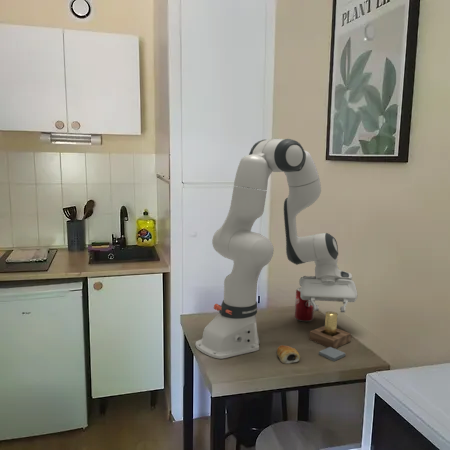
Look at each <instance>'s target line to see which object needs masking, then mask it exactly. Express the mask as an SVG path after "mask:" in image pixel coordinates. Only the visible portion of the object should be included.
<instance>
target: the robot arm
mask: <svg viewBox="0 0 450 450" xmlns="http://www.w3.org/2000/svg"><path fill="white" fill-rule="evenodd" d="M238 164H239V165H238V166H237V169H236V173H235V178H234V183H233V188H232V189H233V190H232V194H231V195H232V196H231V200H230V206H229V210H228V213H227V216H226V218H225V220H224V222H223V224H222V225H221V226H220V228H218V229H217V230H216V231H215V232H214V234H213V236H212V241H211V242H212V243H211V245H212V247H213V249H214V251H215V252H217V253H218V254H219V255H220V256H221V257H223V258H226V259H228V260H231V261H233V266H232V269H231V272H230V273H229V274H228V275H227V276H226V277H224V281H223V300H222V302H221V304H218V303H215V304H214V305H213V309H214V310H216V311H218V314H216V316H214V318H213V319H212V320H211V321H210V322H208V323H207V325H206V326H205V327H204V329H203V332H202V338H201V339H198V340H196V341H195V343H194V344H195V347H196V349H197V350H198V351H200V352H201V353H203V354H205V355H207V356H209V357H211V358H215V359H220V360H222V359H227V358H231V357H235V356H241V355H243V354H248V353H253V352H257V351H259V350H260V345H259V344H260V339H259V334H258V323H257V313H258V302H257V289H258V282H259V281H258V280H259V278H260V277H259V276H260V274H261V272H262V270H263V268H265V266H267V265H268V264H269V263H271V261H272V259H273V257H274V252H275V251H274V246H273V243H272V241H271V240H270V239H269V238H267V237H266V236H264V235H263V234H260V233H258V232H254V231H252V229H253V226H254V224H255V222H256V220H258V219H259V218H260V217H262V215H263V214H264V211H265V205H266V197H267V192H268V183H269V182H268V181H269V178H270V176H271V175H272V173H282V172H283V173H284V174H285V176H286V181H287V185H288V196H287V197H286V198H285V199H284V203H283V221H284V232H285V254H286V257H287V259H288V261H289V262H291V263H293V264H294V265H296V266H298V265H301V264H305V263H310V262H314V265H315V267H314V276H313V275H303V276H302V277H300V278H299V281H298V282H299V283H298V284H299V286H300V287H301V294H300V297H301V299H302V300H310V303H311V304H312V306H313V307H314V312H319V309H320V308H319V304H316V301H318V302H319V301H320V302H338V303H339V302H341V303H342V304H343V305H341V306H340V308H339V310H340V313H344V314H345V313H346V311H347V310H346V307H347V305H348V303H355V302H356V301H357V299H358V291H357V286H356V283H355V281H354V280H353V274H352V273H351V272H347V271H345V270H341V269H339V265H338V260H339V259H338V258H339V257H338V256H339V247H338V241H337V240H336V238H335V237H334V236H333V235H331V234H330V233H329V232H323V233H315V234H310V235H305V236H298V231H297V230H298V229H297V215H299V214H300V213H301V212H302V211H304V210H305V209H307V208H309V207H310V206H312V205H314V203H315V202H316V201H318V199H319V197H320V196H321V192H322V187H321V186H322V185H321V180H320V176H319V172H318V169H317V166H316V163H315V161H314V158H313V156H312V155H311V153H310V152H309V151H307V150H305V149H304V147H303V146H302V144H301V143H300V142H298V141H297V140H295V139H291V138H285V139H284V138H277V137H276V138H275V137H274V138H268V139H262V140H259V141H257V142H255V143H254V144H253V145H252V147H251V148H250V151H249V153H248V154H247V155H244V156H243V157H241V159H240V161H239V163H238Z"/></svg>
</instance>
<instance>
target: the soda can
mask: <svg viewBox="0 0 450 450" xmlns="http://www.w3.org/2000/svg"><path fill="white" fill-rule="evenodd" d="M300 294H301V286H300V287H297V288H296V290H295V300H294V301H295V303H294V318H295V320H297V321H298V322H299V321H300V322H305V323H307V322H311V321H313V320H314V312H315V311H314V307H313V306H312V304H311V303H310V300H302V299H301V297H300Z"/></svg>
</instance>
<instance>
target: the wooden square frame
mask: <svg viewBox="0 0 450 450" xmlns="http://www.w3.org/2000/svg"><path fill="white" fill-rule="evenodd" d="M324 331H325V325H323V326H320V327H317V328H315V329H312V330H310V331H309V336H308V337H309V340H310V341H313V342H315V343H317V344H318V345H319V344H320V345H321V346H324V347H326V348H328V347H332V348H334V349H338V348H339V347H341V346H343V345H344V346H345V345H346V344H348V343H350V342H351V338H352V337H351V336H352V334H351V333H350V332H348V331H345V330H342V329H340V328H336V335H335V336H332V337H331V336H329V335H326V334H324Z"/></svg>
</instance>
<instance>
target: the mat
mask: <svg viewBox="0 0 450 450" xmlns="http://www.w3.org/2000/svg"><path fill="white" fill-rule="evenodd" d="M318 355H319V356H321V357H324V358H326V359H328V360H330V361H332V362H335V361H338V360H340V359H342V358H344V357H346V352H344V351H341V350H339V349H338V348H335V349H334V348H332V347H326V348H324V349H321V350H320V351H318Z"/></svg>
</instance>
